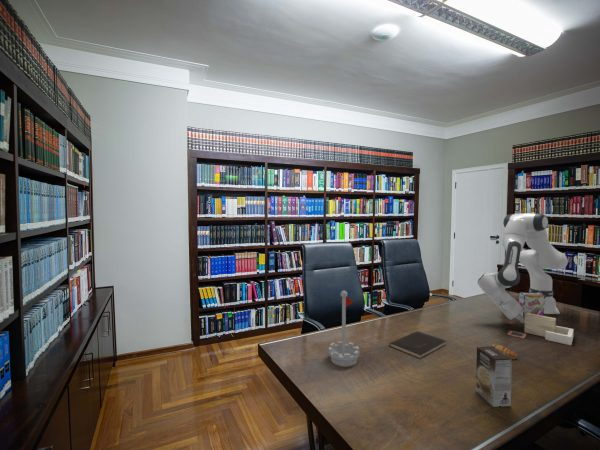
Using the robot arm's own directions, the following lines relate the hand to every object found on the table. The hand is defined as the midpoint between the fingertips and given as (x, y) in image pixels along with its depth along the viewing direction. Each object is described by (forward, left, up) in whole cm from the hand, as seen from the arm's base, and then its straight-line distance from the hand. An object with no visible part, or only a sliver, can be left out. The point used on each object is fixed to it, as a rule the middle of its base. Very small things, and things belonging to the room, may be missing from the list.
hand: (524, 321), depth 161 cm
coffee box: (+81, +3, -5) cm, 81 cm away
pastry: (+41, -2, -5) cm, 41 cm away
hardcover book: (+58, -32, -5) cm, 67 cm away
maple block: (0, +7, -5) cm, 8 cm away
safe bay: (0, +14, -5) cm, 15 cm away
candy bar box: (-19, 0, -5) cm, 20 cm away
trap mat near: (+9, -2, -5) cm, 11 cm away
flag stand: (+95, -49, -5) cm, 107 cm away
